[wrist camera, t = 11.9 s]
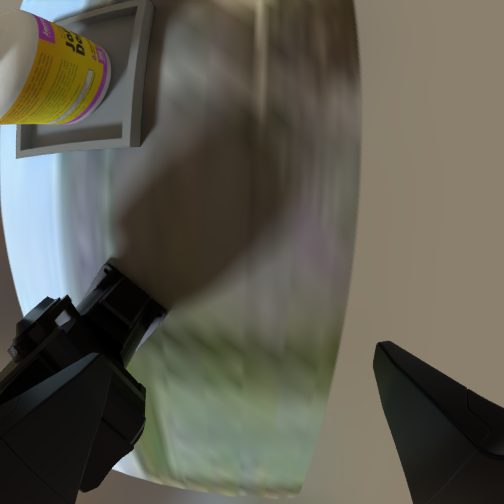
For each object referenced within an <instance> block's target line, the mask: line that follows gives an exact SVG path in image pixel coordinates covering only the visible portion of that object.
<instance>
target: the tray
mask: <svg viewBox="0 0 504 504" xmlns="http://www.w3.org/2000/svg"><path fill="white" fill-rule="evenodd" d="M154 11H155V6H154V5H153V4H152V3H151V2H150V1H149V0H133V1H128V2H123V3H119V4H115V5H111V6H107V7H103V8H99V9H96V10H92V11H89V12H85V13H82V14H79V15H76V16H73V17H70V18H67V19H64V20H62V21H59V22H56V23H55V24H57V25H59V26H61V27H63V28H65V29H68V30H70V31H72V32H74V33H76V34H78V35H80V36H82V37H84V38H86V39H88V40H90V41H92V42H94V43H96V44H97V45H99V46H100V47H102V48H103V49H104V50H105V51H106V53H107V55H108V56H109V59H110V63H111V79H110V83H109V87H108V89H107V92H106V94H105V96H104V98H103V100H102V101H101V103H100V104H99V106H98V107H97V108H96V109H95V110H94V111H93V112H92V113H91V114H90V115H89V116H87V117H86V118H84V119H83V120H81V121H79V122H76V123H73V124H62V125H59V124H17V130H16V159H18V158H24V157H31V156H38V155H45V154H53V153H61V152H70V151H80V150H91V149H104V148H121V147H140V138H141V119H142V104H143V92H144V81H145V72H146V63H147V55H148V48H149V41H150V34H151V28H152V22H153V16H154Z"/></svg>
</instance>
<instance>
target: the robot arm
mask: <svg viewBox="0 0 504 504" xmlns="http://www.w3.org/2000/svg"><path fill="white" fill-rule="evenodd" d="M106 268H107V269H108V270H109V272H108V271H107V270H106ZM158 312H161V313H162V315H160V314H159V313H158ZM166 315H167V312H166V310H165V309H164V308H163V307H162V306H160V305H159V304H158V303H157V302H155V301H154V300H153V299H152V298H150V297H149V295H147V294H146V293H145V292H144V291H143V290H141V289H140V288H139V287H138V286H136V285H135V284H134V283H133V282H132V281H130V280H129V279H128V278H127V277H125V276H124V275H123V274H121V273H120V272H119V271H118V270H117V269H116V268H114V267H113V266H112V265H111V264H109V263H106V264H104V265H103V266H102V267H101V269H100V271H99V272H98V274H97V276H96V277H95V279H94V281H93V283H92V284H91V286H90V288H89V289H88V291H87V293H86V295H85V296H84V298H83V300H82V302H81V303H80V304H79V305H78V306H77V307H76V308H75V307H74V305H73V304H72V300H71V299H70V297H69V296H68V294H67V295H66V296H65V297H63V298H62V299H60V297H59V298H58V299H56V300H54V299H52V298H50V297H46V298H45V299H44V300H43V301H41V302H40V303H39V304H38V305H37V306H36V307H34V308H33V309H32V310H31V311H30V312H29V313H28V314H27V315H26V316H24V317H23V318H22V319H21V320H20V321H19V322H18V323H17V324H16V336H15V338H14V339H13V343H12V345H11V346H10V348H9V349H8V350H7V352H8V353H9V354H10V356H11V357H12V358H13V359H12V360H11V361H10V362H9V363H8V364H7V366H6V367H5V368H3V370H2V371H1V372H0V504H75V502H76V498H77V494H78V491H81V492H83V493H85V492H88V491H90V490H93V489H95V488H97V487H98V486H99V485H100V484H101V482H102V481H103V480H104V478H105V476H106V475H107V474H108V472H109V471H110V470H111V469H112V467H113V466H114V465H115V464H116V463H117V462H118V461H119V460H120V459H121V458H122V457H124V456H125V455H127V454H128V453H129V452H131V451H132V450H133V449H134V445H135V444H136V442H137V441H138V440H139V438H140V436H141V435H142V433H143V430H144V425H145V421H146V418H145V398H146V388H145V387H144V386H143V385H142V384H141V383H138V382H137V381H136V380H135V379H134V378H133V376H132V375H131V374H130V373H129V372H128V371H127V370H126V367H127V365H128V363H129V362H130V360H131V358H132V356H133V354H134V353H135V352H136V350H137V349H138V348H139V347H140V346H141V345H142V344H143V342H144V341H145V340H146V339H147V338H148V337H149V336H150V334H151V333H152V332H153V331H154V330H155V329H156V328H157V326H158V325H159V324H160V323H161V322H162V321H163V320H164V319H165V317H166ZM373 369H374V373H375V378H376V381H377V386H378V390H379V395H380V399H381V403H382V407H383V410H384V413H385V416H386V419H387V422H388V425H389V428H390V430H391V434H392V436H393V439H394V442H395V445H396V449H397V452H398V455H399V458H400V461H401V464H402V467H403V471H404V473H405V477H406V480H407V484H408V487H409V490H410V494H411V498H412V501H413V504H504V408H503V407H501V406H499V405H497V404H495V403H493V402H491V401H489V400H487V399H485V398H483V397H481V396H480V395H478V394H476V393H475V392H473V391H472V390H470V389H467V388H466V387H465V386H463V385H461V384H460V383H458V382H456V381H455V380H453V379H451V378H450V377H448V376H447V375H445V374H443V373H442V372H440V371H439V370H437V369H435V368H434V367H432V366H430V365H429V364H427V363H425V362H424V361H422V360H420V359H419V358H417V357H416V356H414V355H412V354H410V353H409V352H407V351H406V350H404V349H402V348H401V347H399V346H398V345H396V344H394V343H393V342H391V341H383V342H378V343H377V345H376V349H375V355H374V360H373Z"/></svg>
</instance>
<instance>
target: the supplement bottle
mask: <svg viewBox="0 0 504 504" xmlns="http://www.w3.org/2000/svg"><path fill="white" fill-rule="evenodd" d="M110 79H111V63H110V59H109V56H108V55H107V53H106V51H105V50H104V49H103V48H102V47H100V46H99V45H97V44H96V43H94V42H92V41H90V40H88V39H86V38H84V37H82V36H80V35H78V34H76V33H74V32H72V31H70V30H68V29H65V28H63V27H61V26H59V25H57V24H55V23H52V22H50V21H48V20H45V19H43V18H41V17H38V16H36V15H34V14H31V13H29V12H26V11H23V10H9V11H6V12H4V13H1V14H0V125H3V124H59V125H62V124H73V123H76V122H79V121H81V120H83V119H84V118H86V117H87V116H89V115H90V114H91V113H92V112H93V111H94V110H95V109H96V108H97V107H98V106H99V104H100V103H101V101H102V100H103V98H104V96H105V94H106V92H107V89H108V87H109V83H110Z"/></svg>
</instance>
